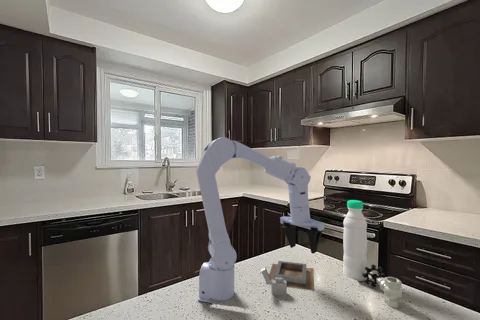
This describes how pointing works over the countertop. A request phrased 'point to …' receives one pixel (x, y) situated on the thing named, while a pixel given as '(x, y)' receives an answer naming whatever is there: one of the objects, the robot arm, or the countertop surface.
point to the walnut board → (298, 274)
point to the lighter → (275, 283)
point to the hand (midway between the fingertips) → (303, 249)
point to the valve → (385, 286)
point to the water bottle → (355, 241)
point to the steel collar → (292, 266)
